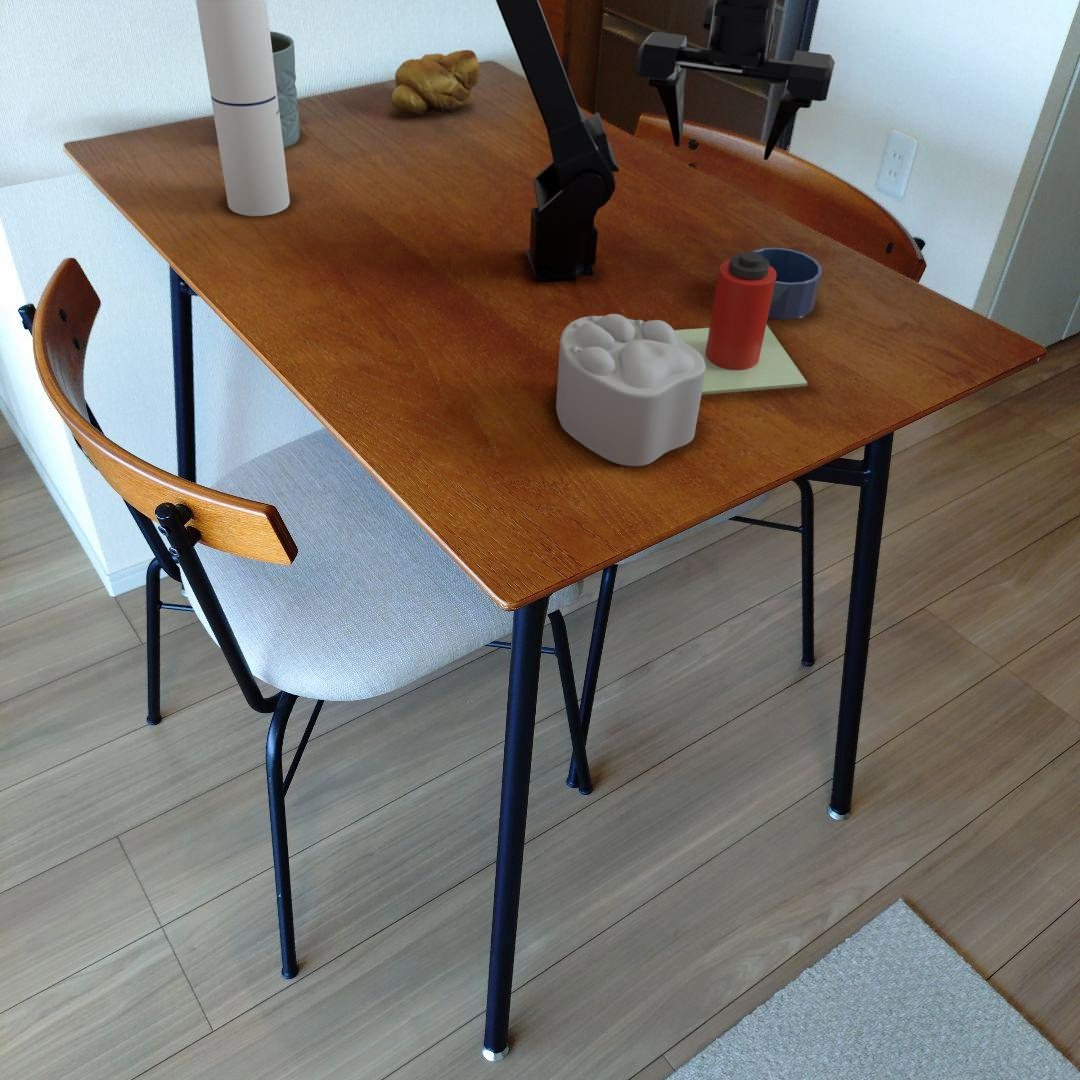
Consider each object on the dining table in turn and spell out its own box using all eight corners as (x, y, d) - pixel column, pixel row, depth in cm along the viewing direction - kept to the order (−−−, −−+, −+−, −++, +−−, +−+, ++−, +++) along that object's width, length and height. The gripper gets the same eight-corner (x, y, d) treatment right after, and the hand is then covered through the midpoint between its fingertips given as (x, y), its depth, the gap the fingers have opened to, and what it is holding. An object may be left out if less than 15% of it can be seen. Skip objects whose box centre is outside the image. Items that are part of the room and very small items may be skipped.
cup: (752, 326, 110) (760, 286, 107) (726, 288, 116) (733, 249, 113) (824, 320, 112) (834, 281, 109) (795, 283, 117) (804, 245, 115)
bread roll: (407, 127, 146) (405, 66, 141) (373, 104, 152) (369, 45, 147) (486, 110, 152) (487, 51, 147) (450, 89, 158) (449, 31, 153)
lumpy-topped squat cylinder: (625, 475, 91) (636, 389, 85) (527, 405, 98) (531, 321, 92) (710, 432, 96) (725, 348, 90) (611, 368, 103) (619, 286, 97)
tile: (695, 399, 100) (696, 392, 99) (661, 337, 108) (662, 330, 107) (806, 389, 102) (807, 382, 101) (764, 330, 110) (766, 323, 109)
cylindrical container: (215, 208, 125) (176, -27, 109) (250, 185, 130) (218, -43, 114) (268, 220, 123) (236, -17, 107) (301, 197, 128) (276, -33, 112)
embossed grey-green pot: (296, 154, 138) (285, 57, 130) (217, 150, 138) (201, 52, 130) (310, 125, 145) (300, 31, 138) (235, 121, 145) (221, 27, 137)
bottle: (715, 372, 102) (733, 271, 95) (698, 343, 106) (714, 244, 99) (766, 368, 103) (788, 267, 96) (748, 339, 107) (767, 241, 100)
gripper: (853, -22, 105) (819, 137, 115) (666, -44, 108) (649, 112, 118) (845, 8, 97) (809, 177, 107) (643, -17, 100) (627, 149, 110)
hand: (721, 151), depth 111 cm, fingers open, 9 cm apart
